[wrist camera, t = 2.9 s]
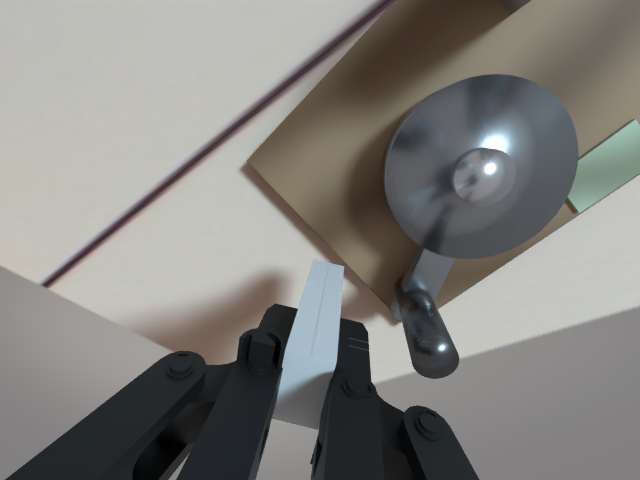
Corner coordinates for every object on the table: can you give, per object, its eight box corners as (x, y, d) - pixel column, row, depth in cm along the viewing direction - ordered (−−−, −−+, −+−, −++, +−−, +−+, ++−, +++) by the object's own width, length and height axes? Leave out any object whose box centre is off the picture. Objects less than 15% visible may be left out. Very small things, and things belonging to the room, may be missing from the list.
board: (252, 159, 18) (162, 186, 10) (543, -154, 13) (920, -713, 4) (406, 319, 21) (442, 452, 12) (705, 115, 15) (1147, 99, 7)
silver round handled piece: (416, 60, 15) (460, 11, 9) (579, 111, 15) (739, 99, 9) (338, 281, 19) (330, 353, 13) (464, 320, 19) (516, 412, 13)
